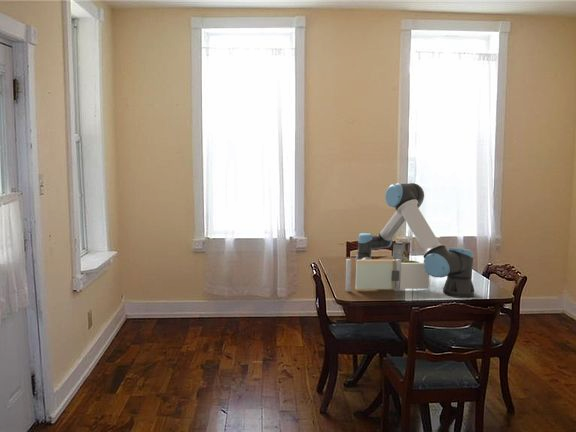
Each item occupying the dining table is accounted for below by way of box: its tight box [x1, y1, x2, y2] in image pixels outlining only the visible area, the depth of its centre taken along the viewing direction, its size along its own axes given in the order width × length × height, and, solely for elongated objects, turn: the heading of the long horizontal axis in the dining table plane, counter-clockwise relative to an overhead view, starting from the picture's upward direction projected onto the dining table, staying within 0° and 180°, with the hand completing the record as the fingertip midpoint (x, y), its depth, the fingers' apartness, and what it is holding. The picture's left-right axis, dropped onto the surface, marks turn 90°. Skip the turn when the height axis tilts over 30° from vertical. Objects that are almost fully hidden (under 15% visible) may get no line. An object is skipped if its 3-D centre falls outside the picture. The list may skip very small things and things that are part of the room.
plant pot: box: [402, 259, 420, 263], centre depth 319 cm, size 9×9×9 cm
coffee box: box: [392, 240, 411, 263], centre depth 338 cm, size 9×6×16 cm
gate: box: [354, 259, 396, 290], centre depth 288 cm, size 20×2×15 cm, turn 96°
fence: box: [344, 258, 430, 292], centre depth 289 cm, size 3×43×16 cm, turn 97°
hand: (380, 276), depth 290 cm, fingers closed, pressing on gate
